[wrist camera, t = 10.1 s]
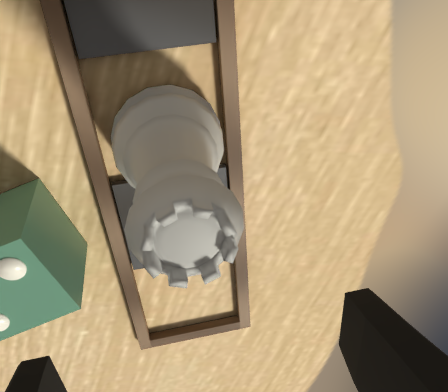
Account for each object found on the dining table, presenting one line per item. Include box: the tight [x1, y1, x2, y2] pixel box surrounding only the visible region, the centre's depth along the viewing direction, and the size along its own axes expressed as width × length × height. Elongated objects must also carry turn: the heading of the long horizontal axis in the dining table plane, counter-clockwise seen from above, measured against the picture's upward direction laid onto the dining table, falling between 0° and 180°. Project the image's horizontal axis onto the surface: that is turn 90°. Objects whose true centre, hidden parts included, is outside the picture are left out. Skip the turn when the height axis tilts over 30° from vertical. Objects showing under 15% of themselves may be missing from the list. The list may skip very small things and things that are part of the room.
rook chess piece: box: [111, 85, 244, 288], centre depth 14 cm, size 4×4×8 cm
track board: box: [40, 0, 250, 350], centre depth 19 cm, size 22×6×1 cm, turn 4°
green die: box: [0, 178, 87, 341], centre depth 17 cm, size 4×4×4 cm
